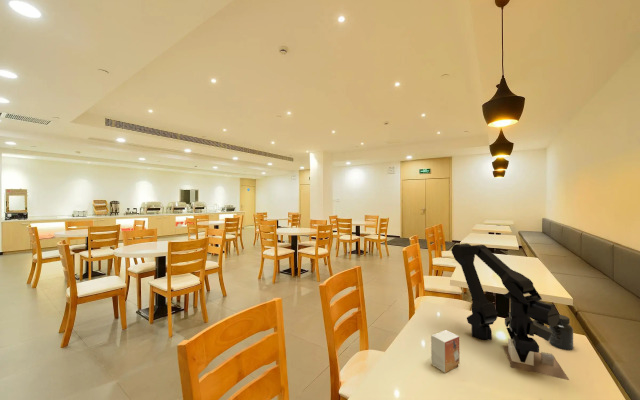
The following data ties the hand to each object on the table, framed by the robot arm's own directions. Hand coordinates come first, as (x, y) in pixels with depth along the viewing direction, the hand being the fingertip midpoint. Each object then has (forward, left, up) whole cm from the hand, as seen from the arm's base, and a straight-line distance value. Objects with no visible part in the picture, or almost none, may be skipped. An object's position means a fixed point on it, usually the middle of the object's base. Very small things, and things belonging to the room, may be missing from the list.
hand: (520, 356), depth 93 cm
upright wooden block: (+8, 0, 0) cm, 8 cm away
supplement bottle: (+16, +16, -2) cm, 23 cm away
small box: (-24, -13, -2) cm, 27 cm away
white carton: (0, 0, 0) cm, 0 cm away
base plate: (+4, 0, -2) cm, 4 cm away
